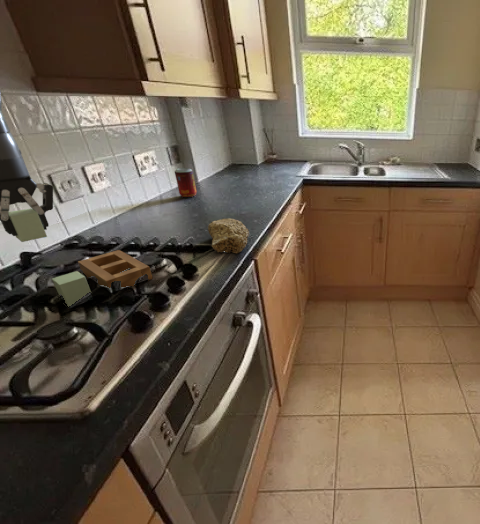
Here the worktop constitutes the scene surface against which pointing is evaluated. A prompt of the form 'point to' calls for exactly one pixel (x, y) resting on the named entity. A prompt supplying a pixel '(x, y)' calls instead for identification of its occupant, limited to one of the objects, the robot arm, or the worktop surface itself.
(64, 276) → the pale green block
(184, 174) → the soda can
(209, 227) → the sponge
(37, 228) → the pad
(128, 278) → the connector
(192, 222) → the worktop surface
